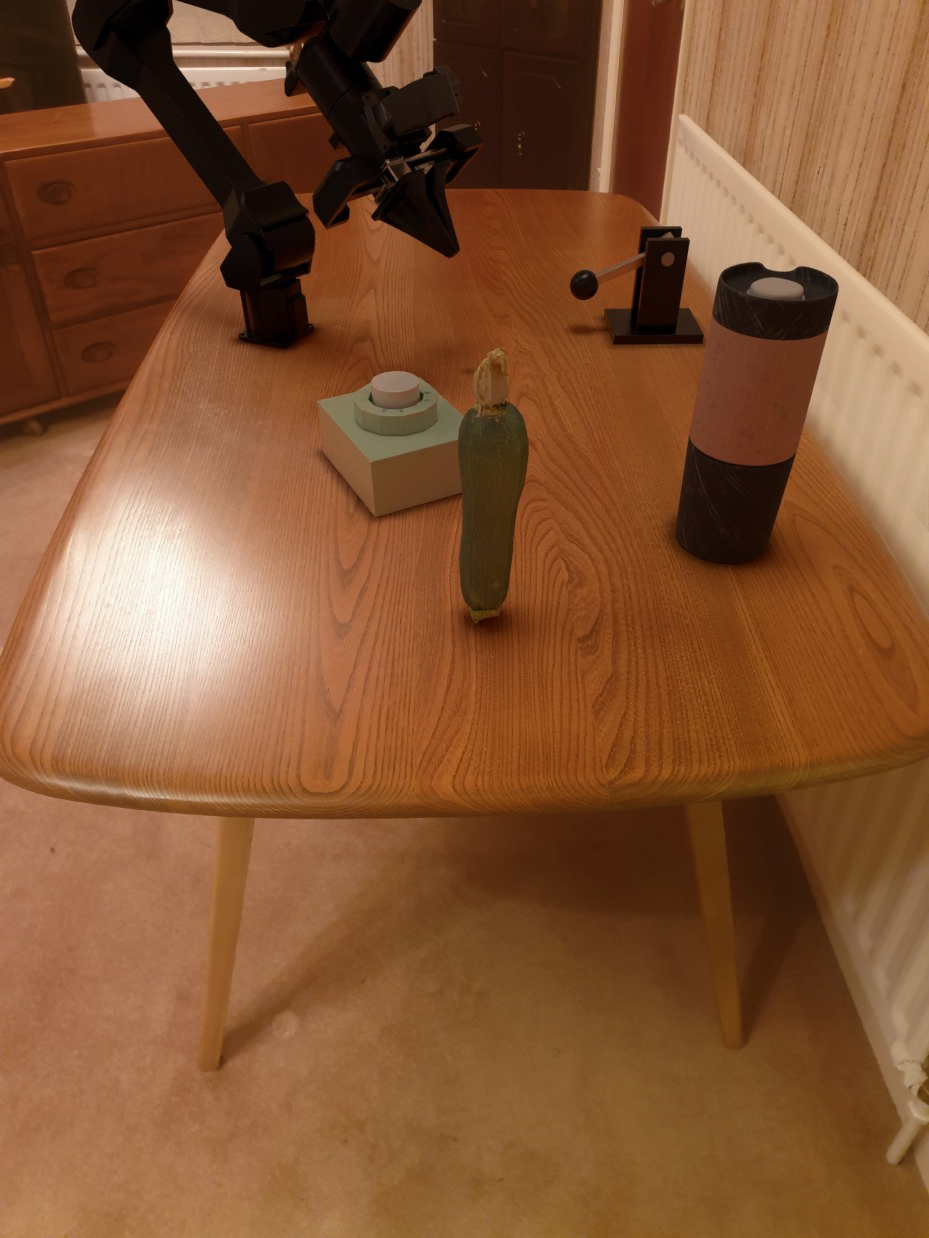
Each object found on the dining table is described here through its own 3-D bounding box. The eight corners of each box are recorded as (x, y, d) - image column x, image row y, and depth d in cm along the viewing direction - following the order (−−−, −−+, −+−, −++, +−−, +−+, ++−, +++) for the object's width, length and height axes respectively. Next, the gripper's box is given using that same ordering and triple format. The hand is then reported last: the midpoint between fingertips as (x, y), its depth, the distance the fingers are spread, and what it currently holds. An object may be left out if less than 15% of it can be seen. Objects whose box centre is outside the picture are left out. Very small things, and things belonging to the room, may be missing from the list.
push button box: (323, 453, 79) (314, 381, 74) (422, 428, 82) (419, 357, 78) (375, 517, 71) (368, 441, 66) (482, 487, 74) (483, 412, 70)
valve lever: (576, 309, 96) (567, 282, 94) (573, 299, 99) (564, 273, 97) (681, 263, 93) (674, 235, 91) (676, 254, 96) (668, 226, 94)
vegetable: (457, 595, 63) (453, 325, 50) (516, 592, 63) (528, 322, 50) (462, 635, 59) (459, 357, 46) (524, 632, 60) (539, 354, 47)
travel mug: (714, 577, 64) (775, 310, 51) (652, 526, 69) (692, 272, 57) (792, 549, 67) (868, 288, 54) (726, 501, 72) (781, 253, 59)
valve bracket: (613, 346, 97) (624, 245, 90) (603, 318, 103) (613, 222, 96) (702, 345, 97) (720, 244, 90) (687, 317, 103) (703, 221, 96)
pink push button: (364, 396, 73) (363, 376, 72) (407, 386, 74) (406, 367, 73) (383, 416, 70) (382, 396, 69) (428, 405, 71) (427, 385, 70)
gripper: (321, 44, 65) (441, 224, 67) (466, 19, 76) (565, 174, 79) (264, 147, 74) (372, 304, 76) (402, 111, 85) (493, 248, 87)
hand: (455, 254), depth 79 cm, fingers closed
